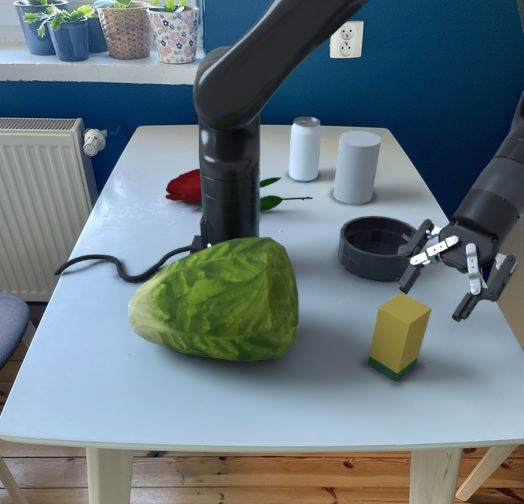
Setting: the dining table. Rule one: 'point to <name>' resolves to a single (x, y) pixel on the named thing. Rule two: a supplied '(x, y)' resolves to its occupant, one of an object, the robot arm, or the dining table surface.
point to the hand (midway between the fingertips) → (428, 305)
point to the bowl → (375, 247)
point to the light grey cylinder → (356, 166)
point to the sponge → (398, 335)
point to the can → (305, 149)
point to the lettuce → (222, 302)
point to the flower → (190, 190)
